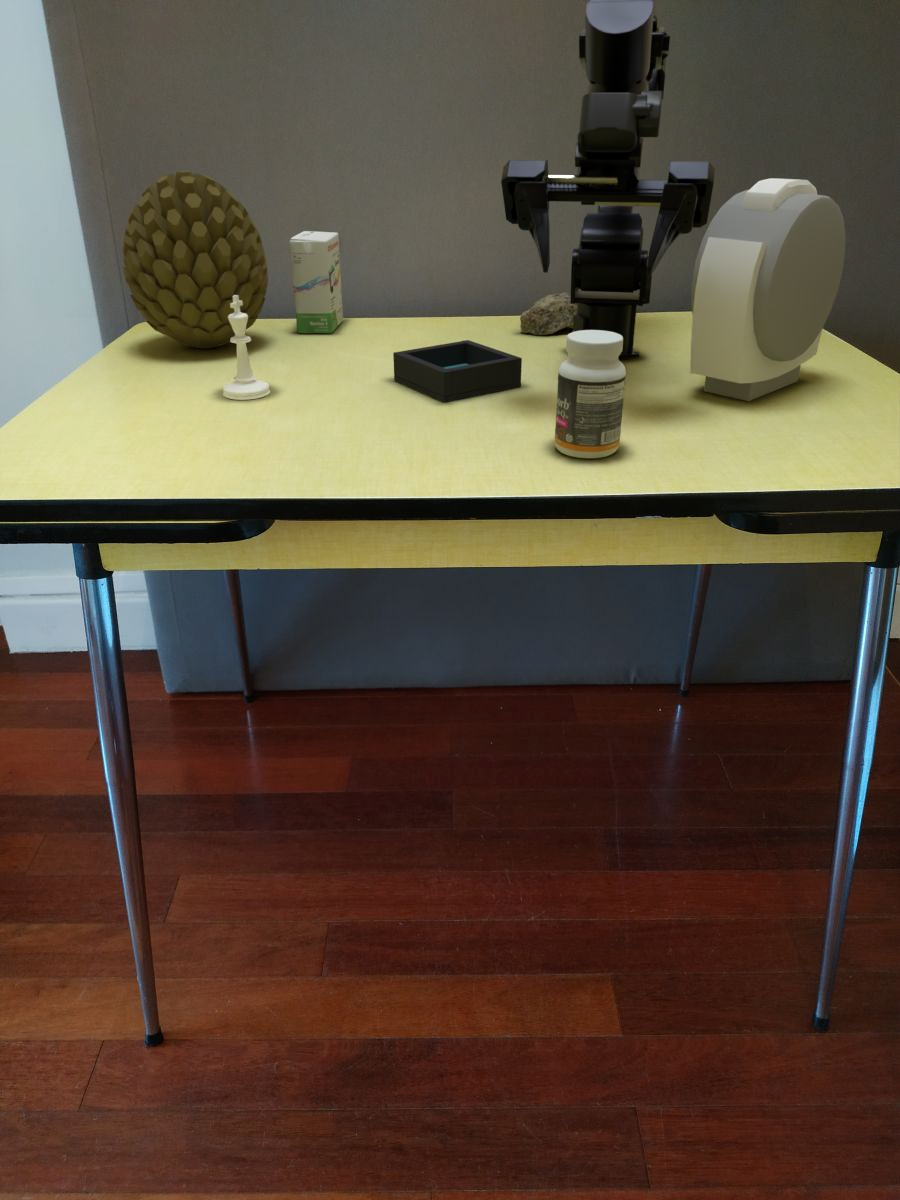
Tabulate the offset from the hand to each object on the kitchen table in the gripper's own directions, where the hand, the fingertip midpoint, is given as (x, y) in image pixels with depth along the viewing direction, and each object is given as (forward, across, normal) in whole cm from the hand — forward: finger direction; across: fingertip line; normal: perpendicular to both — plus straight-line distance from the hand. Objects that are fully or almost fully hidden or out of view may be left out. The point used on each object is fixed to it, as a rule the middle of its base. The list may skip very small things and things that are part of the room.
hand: (596, 271), depth 81 cm
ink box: (-15, -39, +34) cm, 54 cm away
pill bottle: (+16, +1, +4) cm, 16 cm away
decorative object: (-6, -49, +25) cm, 56 cm away
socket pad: (+2, -15, +17) cm, 23 cm away
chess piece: (+8, -36, +12) cm, 39 cm away
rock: (-18, -8, +37) cm, 42 cm away
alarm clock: (-1, +16, +21) cm, 27 cm away
